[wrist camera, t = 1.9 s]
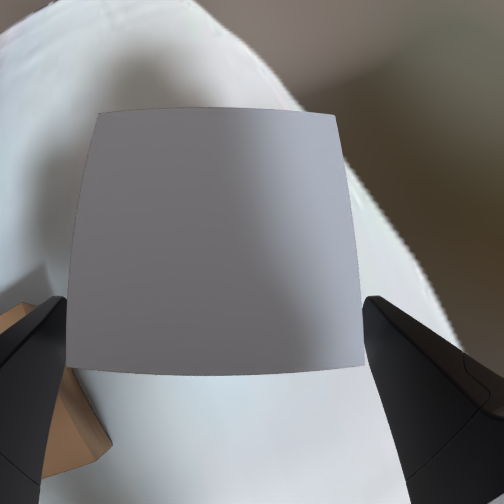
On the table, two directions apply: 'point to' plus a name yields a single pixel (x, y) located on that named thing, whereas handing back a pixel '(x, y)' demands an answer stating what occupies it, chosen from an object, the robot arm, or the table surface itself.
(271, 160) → the pillar
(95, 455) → the plinth
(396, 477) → the table surface
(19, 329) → the robot arm
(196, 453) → the table surface
